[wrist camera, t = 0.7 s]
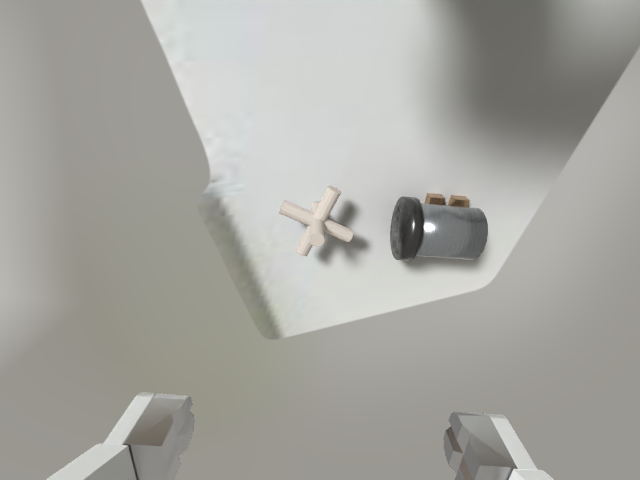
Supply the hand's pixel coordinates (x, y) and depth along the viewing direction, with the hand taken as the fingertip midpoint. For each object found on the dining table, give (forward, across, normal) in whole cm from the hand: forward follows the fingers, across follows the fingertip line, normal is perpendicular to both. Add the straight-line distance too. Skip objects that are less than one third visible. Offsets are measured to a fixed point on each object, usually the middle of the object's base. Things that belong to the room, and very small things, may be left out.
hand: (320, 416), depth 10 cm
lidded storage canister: (+37, -15, +4) cm, 40 cm away
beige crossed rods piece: (+37, +1, +4) cm, 37 cm away
